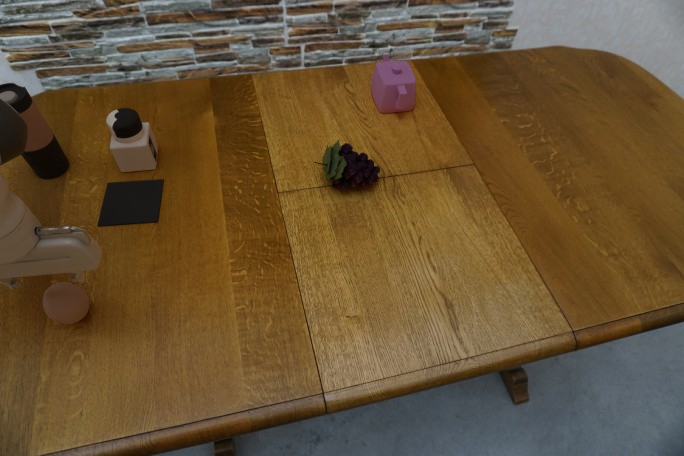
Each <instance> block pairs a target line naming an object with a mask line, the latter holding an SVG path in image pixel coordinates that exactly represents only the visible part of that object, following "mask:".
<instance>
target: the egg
mask: <svg viewBox="0 0 684 456" xmlns="http://www.w3.org/2000/svg"><path fill="white" fill-rule="evenodd" d="M42 308H43V310H44V312H45V314H46V315H47V317H48V318H49V319H50V320H52V321H54V322H56V323H58V324H61V325H72V324H75V323H78V322H80V321H81V320H83V319H84V318H85V317H86V315H87V314H88V313H89V309H90V297H89V296H88V293H87V292H86V291H85V290H84V289H83V288H82V287H80V286H79V285H77V284H73V282H72V283H71V282H66V281H63V282H62V281H61V282H56V283H53V284H51V285H50V286H49V287H48V288H47V289H46V290H45V291H44V294H43V297H42Z"/></svg>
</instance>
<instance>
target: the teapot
mask: <svg viewBox="0 0 684 456" xmlns="http://www.w3.org/2000/svg"><path fill="white" fill-rule="evenodd" d="M370 90H371V94H372V99H373V101H374V104H375V106H376V108H377V110H378V112H379V113H381V114H392V113H401V112H410V111H412V110H413V109H414V106H415V104H416V99H417V98H416V96H417V80H416V77H415V74H414V72H413V70H412V67H411V66H410V63H408V62H407V60H405V59H403V60H391V59H390V56H389V54H383V57H382V61H377V62H376V64H375V66H374V70H373V73H372V77H371V84H370Z"/></svg>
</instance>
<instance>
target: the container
mask: <svg viewBox="0 0 684 456" xmlns="http://www.w3.org/2000/svg"><path fill="white" fill-rule="evenodd" d="M105 121H106V125H107V127H108V129H109V131H110V133H111V137H110V143H109V147H108V148H109V150H110V152H111V154H112V156H113V158H114V161H115V163H116V165H117V167H118V169H119V171H120V172H121V173H129V172H130V173H131V172H132V173H133V172H141V171H142V172H143V171H152V170H153V171H154V170H156V169H157V165H158V164H157V163H158V154H159V153H158V151H159V145H158V143H157V140H156V137H155V135H154V132H153V129H152V126H151V123H150V122H148V121H145V122H142V120H141V117H140V115H139V113H138V111H136V110H135V109H133V108H131V107H120V108H116V109H114V110H112V111H111V112H110V113H109V114H108V115H107V116H106V119H105Z"/></svg>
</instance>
